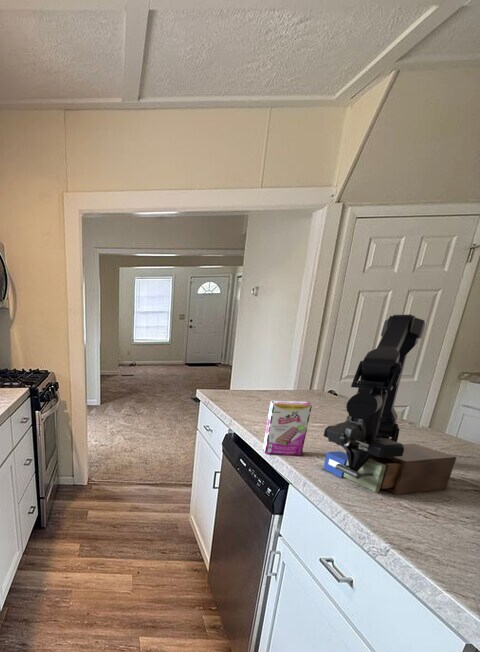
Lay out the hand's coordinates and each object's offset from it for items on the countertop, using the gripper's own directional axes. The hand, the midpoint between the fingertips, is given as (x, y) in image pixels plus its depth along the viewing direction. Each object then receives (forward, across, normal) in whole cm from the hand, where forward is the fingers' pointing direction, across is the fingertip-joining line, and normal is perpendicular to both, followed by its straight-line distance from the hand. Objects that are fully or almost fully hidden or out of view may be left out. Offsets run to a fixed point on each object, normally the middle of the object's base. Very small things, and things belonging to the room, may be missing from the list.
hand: (352, 472), depth 101 cm
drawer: (+3, 0, +7) cm, 8 cm away
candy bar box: (+4, -29, 0) cm, 29 cm away
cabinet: (+4, 0, +16) cm, 16 cm away
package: (+4, -10, +6) cm, 12 cm away
